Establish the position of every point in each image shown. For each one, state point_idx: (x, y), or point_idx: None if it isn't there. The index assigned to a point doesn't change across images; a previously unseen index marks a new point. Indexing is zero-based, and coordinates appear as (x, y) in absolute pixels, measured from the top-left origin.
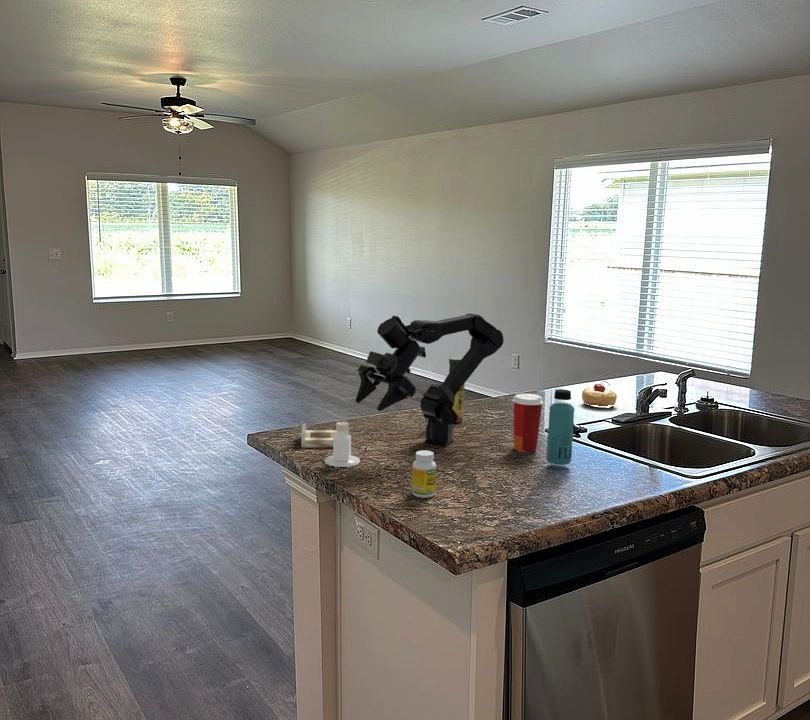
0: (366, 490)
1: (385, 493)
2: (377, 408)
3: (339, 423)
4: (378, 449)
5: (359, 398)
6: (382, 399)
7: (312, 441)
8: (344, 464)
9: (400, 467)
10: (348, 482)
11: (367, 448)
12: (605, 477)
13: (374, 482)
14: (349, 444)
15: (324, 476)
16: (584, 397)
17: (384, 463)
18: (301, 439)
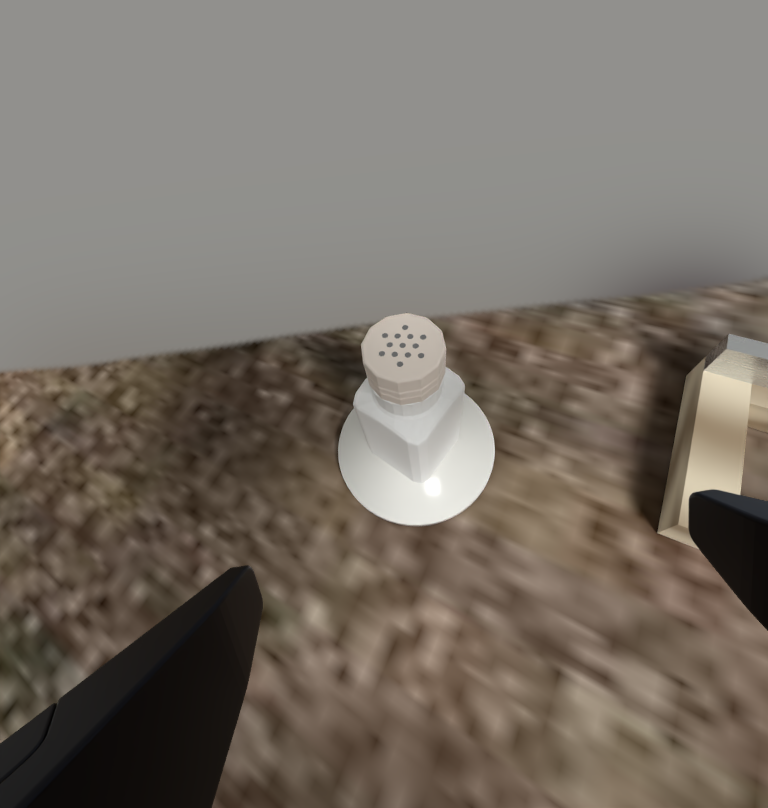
0: (113, 400)
1: (50, 440)
2: (237, 567)
3: (406, 327)
4: (560, 753)
5: (734, 540)
6: (155, 657)
7: (695, 403)
8: (352, 427)
9: None
10: (207, 381)
11: (600, 689)
12: None
13: (148, 456)
14: (368, 428)
15: (300, 339)
16: None
17: (307, 623)
18: (708, 355)
